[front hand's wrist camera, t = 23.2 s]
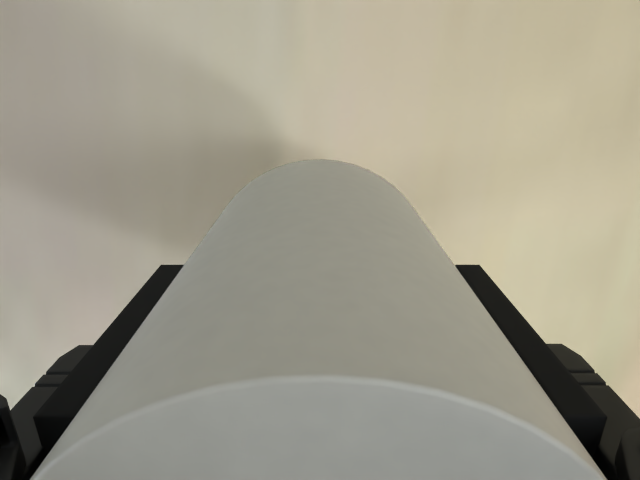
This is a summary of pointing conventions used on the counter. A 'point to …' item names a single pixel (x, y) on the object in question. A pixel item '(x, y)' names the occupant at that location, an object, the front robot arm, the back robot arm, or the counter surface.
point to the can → (318, 356)
